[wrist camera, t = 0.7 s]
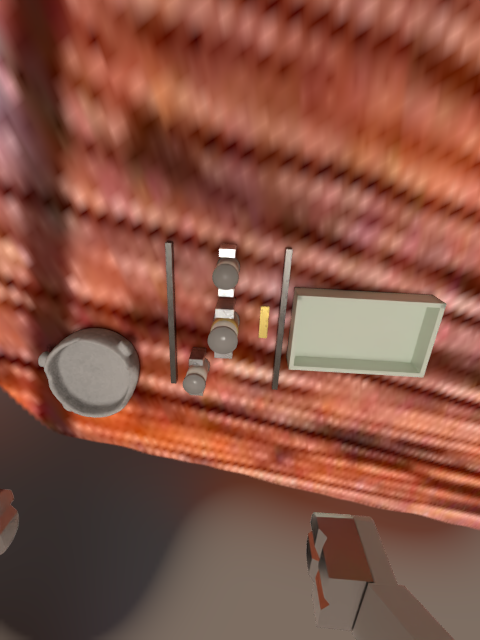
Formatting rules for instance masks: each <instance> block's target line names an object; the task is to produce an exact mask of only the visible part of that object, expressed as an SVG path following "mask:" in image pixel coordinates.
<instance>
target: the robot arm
mask: <svg viewBox="0 0 480 640" xmlns="http://www.w3.org/2000/svg"><path fill="white" fill-rule="evenodd" d="M13 500H14V497H13V494H12V491H11V490H5V489H0V555H1V554H2V553H4V552H5V551H6V550H7V548H8V546H9V545H10V543H11V542H12V541H13V539H14V536H15V534H16V531H17V528H18V523H19V516H18V512H17V510H15V509H14V508H13V507H12V506H11V505H10V504H11V503H12V501H13ZM311 528H312V531H311V532H310V533H308V537H307V549H306V556H307V567H308V574H309V576H310V577H311V579H312V580H313V582H314V586H313V591H312V600H313V607H314V613H315V620H316V626H317V627H320V628H329V629H338V630H346V631H353V632H352V634H353V636H354V637H355V639H356V640H454V639H453V638H452V637H451V635H449V633H448V632H446V630H445V629H444V628H443V627H442V626H441V625H440V624H439V623H438V622H437V621H436V620H435V618H434V617H433V616H432V615H431V614H430V613H429V612H428V611H427V610H426V609H425V608H424V606H423V605H422V604H421V603H420V602H419V601H418V600H417V599H416V598H415V597H414V596H413V595H412V594H411V592H410V591H409V590H408V589H407V588H406V587H405V586H402V585H398V584H397V581H396V578H395V576H394V573H393V570H392V568H391V565H390V563H389V560H388V557H387V555H386V552H385V549H384V547H383V544H382V541H381V539H380V536H379V534H378V531H377V528H376V526H375V523H374V521H373V519H372V518H371V517H368V516H354V515H348V514H330V513H315V512H314V513H313V514H312V517H311Z"/></svg>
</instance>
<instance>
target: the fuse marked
mask: <svg viewBox="0 0 480 640" xmlns="http://www.w3.org/2000/svg"><path fill="white" fill-rule="evenodd" d="M239 321H240V320H239V315H238V314H237V312H236V311H235V312H234V319H231V318H215V316H214V320H213V324H212V327H211V332H210V334H209V337H208V344H209V347H210V348H211V349H212V350H213V351H214V352H216V353H218V354H228V353H231V352H232V351H233V350H234V349H235V348H236V346H237V342H238V338H237V336H238V326H239Z"/></svg>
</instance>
